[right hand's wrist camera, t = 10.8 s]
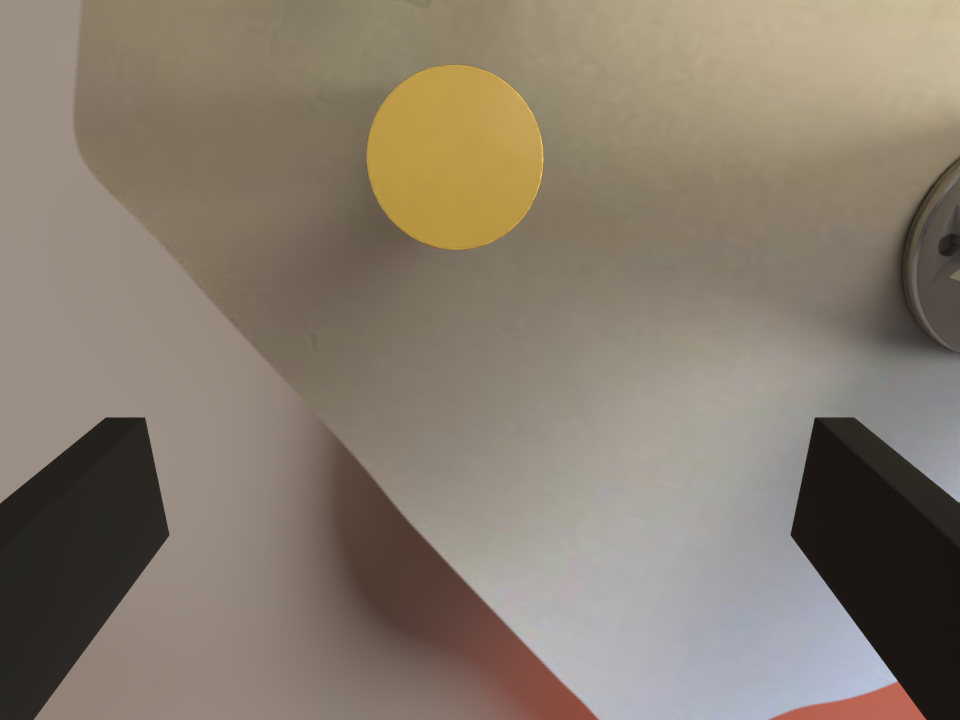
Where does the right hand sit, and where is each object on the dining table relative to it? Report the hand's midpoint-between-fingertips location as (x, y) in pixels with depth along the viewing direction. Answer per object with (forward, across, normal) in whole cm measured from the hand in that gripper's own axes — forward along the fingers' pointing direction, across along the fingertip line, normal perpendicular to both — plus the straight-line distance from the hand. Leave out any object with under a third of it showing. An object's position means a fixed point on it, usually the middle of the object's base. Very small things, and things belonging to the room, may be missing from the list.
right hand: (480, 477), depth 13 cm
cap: (+8, -1, +6) cm, 10 cm away
